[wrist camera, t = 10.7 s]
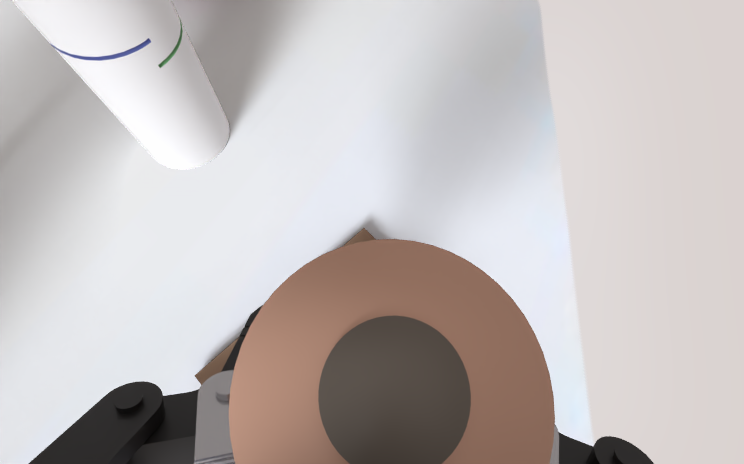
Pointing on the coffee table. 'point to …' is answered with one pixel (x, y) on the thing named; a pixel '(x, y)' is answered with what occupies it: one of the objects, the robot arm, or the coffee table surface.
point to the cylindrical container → (139, 72)
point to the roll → (391, 366)
